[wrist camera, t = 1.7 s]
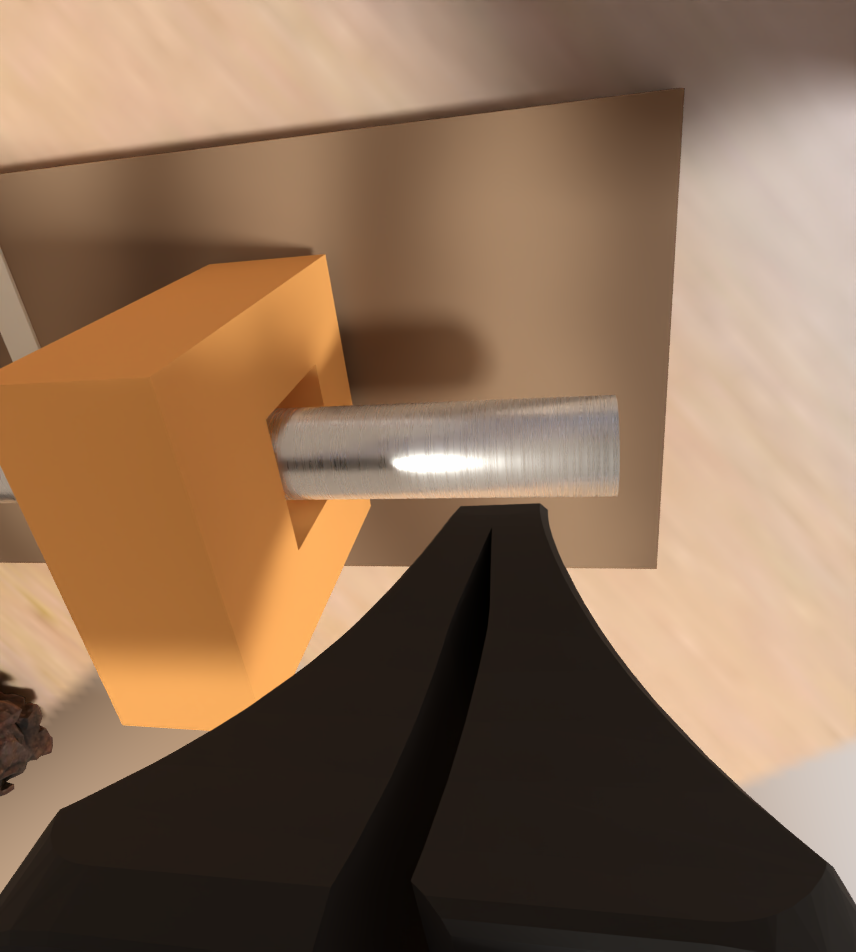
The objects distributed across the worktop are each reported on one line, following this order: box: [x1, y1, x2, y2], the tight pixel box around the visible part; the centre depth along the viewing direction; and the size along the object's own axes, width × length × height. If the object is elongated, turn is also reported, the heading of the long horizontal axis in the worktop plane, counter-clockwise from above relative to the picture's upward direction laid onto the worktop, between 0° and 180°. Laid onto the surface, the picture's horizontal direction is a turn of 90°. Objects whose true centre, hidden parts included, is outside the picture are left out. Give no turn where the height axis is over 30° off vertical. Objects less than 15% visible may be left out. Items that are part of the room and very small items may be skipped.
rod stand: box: [0, 88, 684, 569], centre depth 17 cm, size 26×12×7 cm, turn 96°
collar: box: [0, 254, 371, 731], centre depth 15 cm, size 3×7×8 cm, turn 6°
